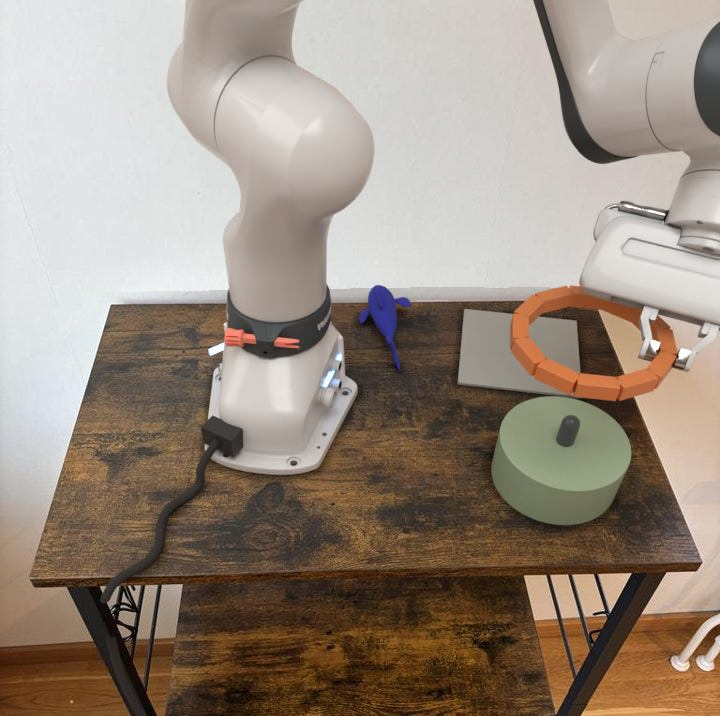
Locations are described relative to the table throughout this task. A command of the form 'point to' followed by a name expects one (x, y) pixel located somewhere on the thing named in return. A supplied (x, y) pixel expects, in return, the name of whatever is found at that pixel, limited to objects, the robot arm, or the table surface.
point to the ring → (580, 382)
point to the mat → (493, 354)
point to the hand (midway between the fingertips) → (663, 364)
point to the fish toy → (384, 314)
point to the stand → (559, 460)
